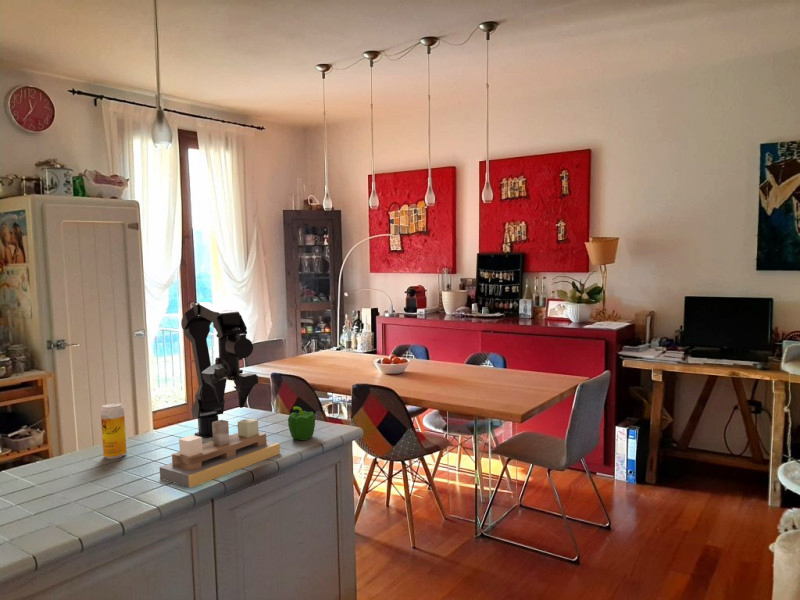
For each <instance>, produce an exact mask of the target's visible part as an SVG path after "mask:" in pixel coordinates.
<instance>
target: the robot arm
mask: <svg viewBox="0 0 800 600" xmlns="http://www.w3.org/2000/svg"><path fill="white" fill-rule="evenodd" d="M180 324H181V329H182V330H183V333H184V336H185V337H186V338H187V339H188V341H190V343H191V348H192V353H193V358H194V359H193V360H194V364H195V365H194V366H195V371H196V377H197V378H196V379H197V382H198V388H197V390H196V393H195V394H194V398H195V400H194V402H193V405H192V407H191V415H192V417H193V418H195V419H197V428H198V431H197V432H195V433H194V436H198V437H202V438H210V437H213V431H212V422H215V421H218V420H219V415H224V411H225V402H226V401H225V392H226V386H227V380H228V381H232V382H233V383H234V386H233V388H234V389H235V390H236V391H237V397H238V399H237V400H238V406H239V408H241V409H243V408H244V406H245V404H246V402H247V399H248V398H249V395H250V393H251V392H252V390H253V387H255V386H256V385H257V384H259V376H258V375H257V373H251V372H246V373H243V372H244V370H243V369H240V361H242V360H243V359H245V358H248V357H249V356H250V355H251V354H253V350H254V345H253V343H252V341H251V340H250V339H249V338H247V334H248V331H247V330H248V328H247V325H246V323H245V321H244V320H243V317H242V315H241V313H240V312H239V311H238V310H230V309H229V310H228V309H227V310H224V309H222V308H220V307H218V306H216V305H214V304H212V302H209V301H204V302H203V301H201V302H196V303H194V304H193V306H192V307H191V308H190V309H189V310H187V311H185V312H184V314H183V317H182V318H181V321H180ZM211 324H212V327H213V329H215V331H216V333H217V334H216V335H215V336H216V338H217V340H218V341H217V342H218V357H215V360H214V361H215V362H214V364H212V363H211V357H210V351H209V346H208V345H209V344H208V340H207V338H208V336H209V333H210V331H211V327H210V326H211Z"/></svg>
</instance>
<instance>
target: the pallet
mask: <svg viewBox="0 0 800 600" xmlns="http://www.w3.org/2000/svg"><path fill="white" fill-rule="evenodd" d="M229 428H230V427H229V421H228V420H224V419H220V420H219V419H218V421H215V422H212V431H213V436H212V440H211V441H209V442H206V443H202V448H203V453H200V454H197V455H194V456H191V457H188V456H184V455H181V454H180V451H178V452H174V453H172V454H171V461H172V462H171V463H172V465H173V466H176V467H179V468H183V469H186V470H190V471H193V470H196V469H199V468H202V461H205V460H208V459H211V458H213V457H216V456H220V457H224V458H229V457H232V456H235V455H236V449H239V448H242V447H245V446H248V445H252V446H256V447H260V446H263V445H266V444H267V442H266V440H267V433H265V432H259V434H256V435H253V436H250V437H244V436H239V435H238V432H237V433H236V432H235V433H233V434H230V430H229Z"/></svg>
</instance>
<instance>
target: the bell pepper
mask: <svg viewBox="0 0 800 600" xmlns="http://www.w3.org/2000/svg"><path fill="white" fill-rule="evenodd" d="M292 409H293V411H295V410H298V411H299V412H291V413H290V414H289V415H288V419H287V423H288V425H287V426H288V431H289V434H290V436H291V438H292V439H293V440H299V441H308V440H311V439H312V437H313V436H314V432H315V428H316V427H315V426H316V417H315V413H314V411H306V410H303V409H302V408H301V407H300V406H293V407H292Z"/></svg>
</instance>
